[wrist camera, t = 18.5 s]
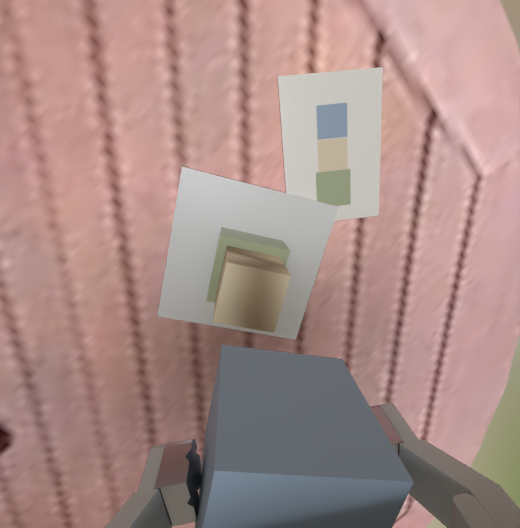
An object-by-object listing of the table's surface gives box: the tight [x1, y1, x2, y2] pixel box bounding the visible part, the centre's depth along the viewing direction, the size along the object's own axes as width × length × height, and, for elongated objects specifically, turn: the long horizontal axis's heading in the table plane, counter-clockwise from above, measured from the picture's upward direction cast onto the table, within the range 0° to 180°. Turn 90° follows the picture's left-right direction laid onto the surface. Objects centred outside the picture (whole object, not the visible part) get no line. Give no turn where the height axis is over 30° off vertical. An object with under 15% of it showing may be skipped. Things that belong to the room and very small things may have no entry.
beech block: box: [213, 246, 291, 333], centre depth 25 cm, size 5×5×5 cm
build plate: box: [157, 167, 338, 340], centre depth 29 cm, size 16×16×5 cm
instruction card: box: [278, 67, 383, 221], centre depth 29 cm, size 10×14×1 cm
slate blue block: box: [195, 345, 413, 528], centre depth 10 cm, size 5×5×5 cm
